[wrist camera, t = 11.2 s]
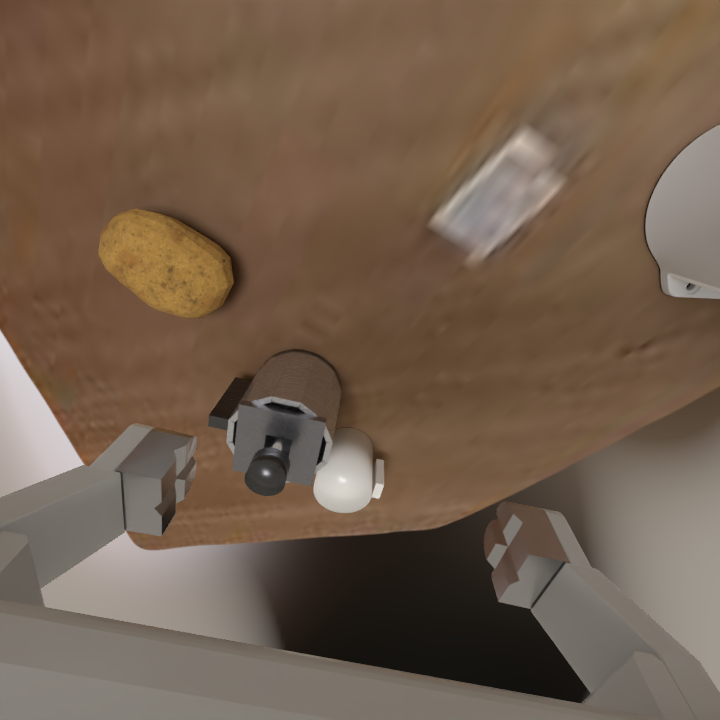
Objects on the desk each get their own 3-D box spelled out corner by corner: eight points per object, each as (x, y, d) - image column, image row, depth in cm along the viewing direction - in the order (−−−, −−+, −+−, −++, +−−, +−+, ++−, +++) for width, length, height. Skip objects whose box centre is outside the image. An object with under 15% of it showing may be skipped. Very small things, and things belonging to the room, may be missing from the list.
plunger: (333, 374, 46) (313, 457, 33) (321, 424, 49) (300, 518, 36) (270, 360, 45) (225, 438, 32) (263, 412, 49) (219, 502, 36)
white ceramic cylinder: (388, 435, 51) (389, 478, 44) (375, 473, 55) (374, 519, 47) (327, 422, 51) (319, 464, 44) (318, 462, 54) (309, 506, 47)
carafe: (348, 360, 47) (339, 416, 36) (332, 428, 51) (319, 495, 41) (244, 336, 46) (203, 386, 35) (237, 408, 51) (199, 471, 40)
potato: (216, 323, 45) (190, 347, 39) (114, 257, 42) (69, 272, 36) (254, 260, 42) (232, 276, 36) (146, 184, 39) (102, 187, 33)
